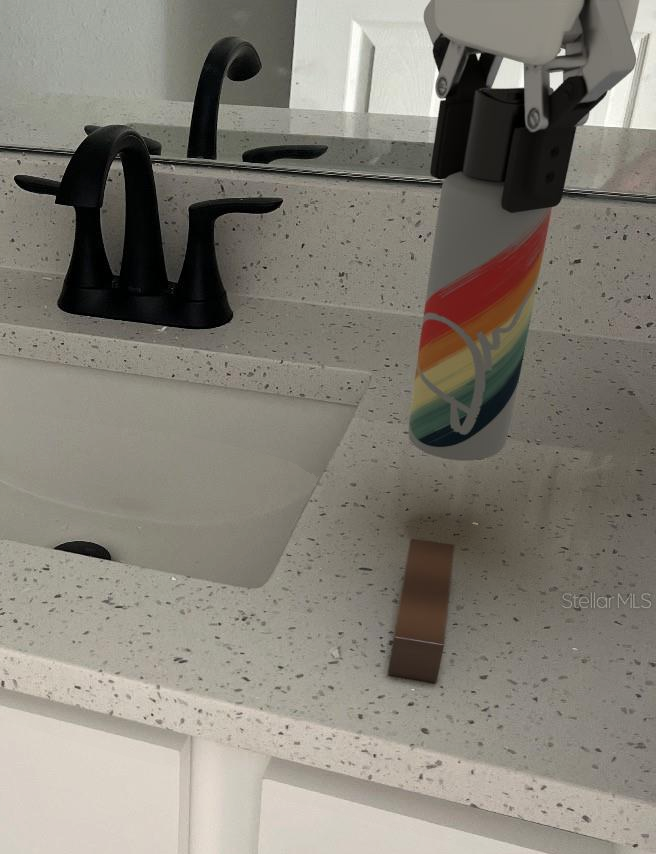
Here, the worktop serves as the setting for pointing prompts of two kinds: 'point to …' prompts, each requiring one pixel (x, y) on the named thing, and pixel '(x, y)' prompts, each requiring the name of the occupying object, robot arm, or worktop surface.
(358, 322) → the worktop surface
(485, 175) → the lotion bottle
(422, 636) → the walnut stick
